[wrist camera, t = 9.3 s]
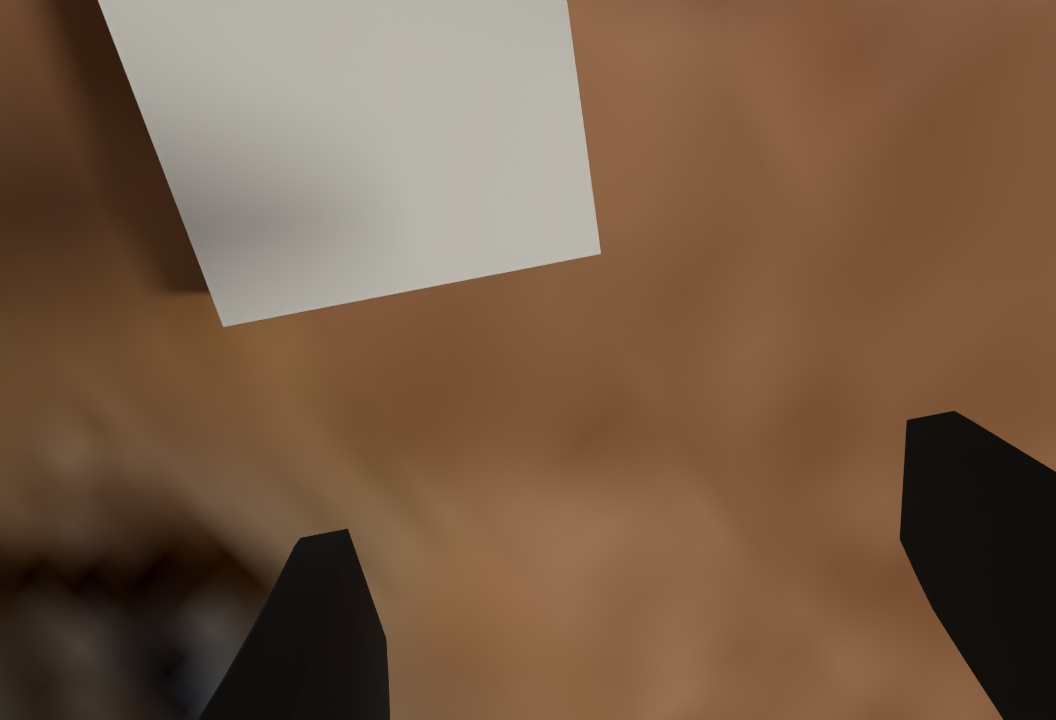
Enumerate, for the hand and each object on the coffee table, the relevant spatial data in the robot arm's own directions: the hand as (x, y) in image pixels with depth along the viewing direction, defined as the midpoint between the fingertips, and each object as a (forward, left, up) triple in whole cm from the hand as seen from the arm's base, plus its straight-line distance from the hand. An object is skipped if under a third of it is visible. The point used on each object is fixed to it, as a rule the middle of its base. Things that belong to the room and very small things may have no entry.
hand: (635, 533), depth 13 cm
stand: (+3, -4, -10) cm, 11 cm away
